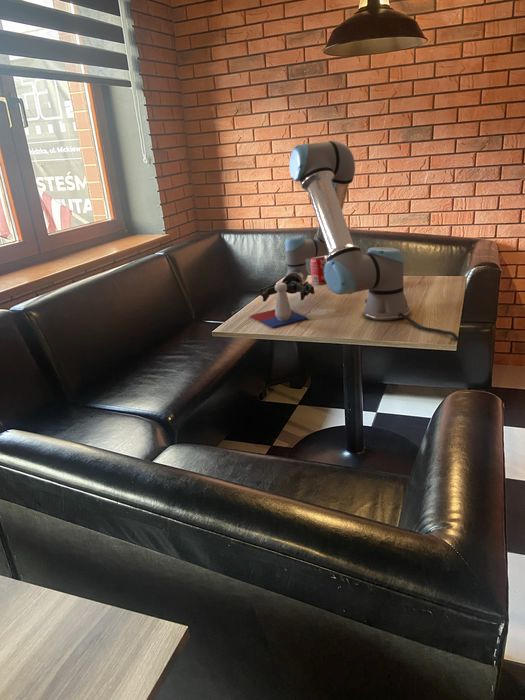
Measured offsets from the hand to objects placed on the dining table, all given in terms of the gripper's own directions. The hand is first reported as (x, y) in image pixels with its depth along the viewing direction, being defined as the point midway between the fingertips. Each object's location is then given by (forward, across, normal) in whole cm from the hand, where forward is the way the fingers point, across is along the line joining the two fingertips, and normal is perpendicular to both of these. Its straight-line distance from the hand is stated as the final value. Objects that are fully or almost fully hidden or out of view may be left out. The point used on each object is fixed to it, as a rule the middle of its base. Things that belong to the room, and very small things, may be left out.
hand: (282, 297), depth 188 cm
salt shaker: (0, 0, -8) cm, 8 cm away
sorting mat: (-3, +3, -9) cm, 10 cm away
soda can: (-52, -6, -9) cm, 53 cm away
